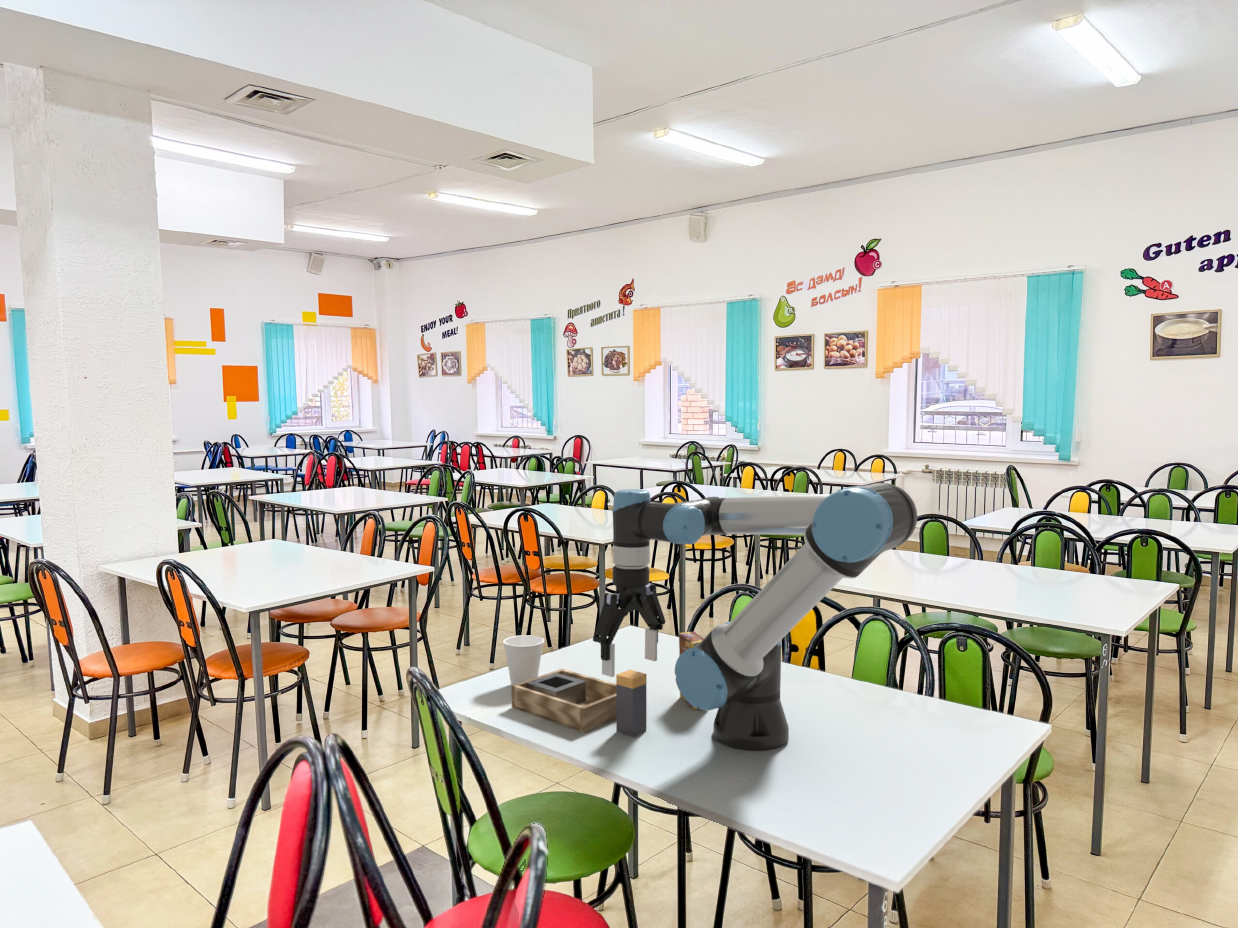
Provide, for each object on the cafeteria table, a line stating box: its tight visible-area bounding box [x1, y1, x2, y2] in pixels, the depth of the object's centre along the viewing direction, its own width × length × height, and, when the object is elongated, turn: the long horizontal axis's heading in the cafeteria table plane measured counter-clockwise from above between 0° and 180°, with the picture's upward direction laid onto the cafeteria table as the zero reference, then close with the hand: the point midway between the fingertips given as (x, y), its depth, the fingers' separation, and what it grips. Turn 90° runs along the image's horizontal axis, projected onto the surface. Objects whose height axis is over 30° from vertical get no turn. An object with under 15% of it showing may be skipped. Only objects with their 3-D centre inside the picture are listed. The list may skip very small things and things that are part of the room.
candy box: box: [678, 631, 705, 711], centre depth 191 cm, size 9×4×15 cm, turn 17°
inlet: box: [527, 673, 586, 704], centre depth 191 cm, size 9×9×4 cm
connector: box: [615, 669, 647, 738], centre depth 175 cm, size 4×4×12 cm
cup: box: [502, 634, 545, 686], centre depth 204 cm, size 10×10×11 cm
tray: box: [511, 668, 616, 733], centre depth 188 cm, size 22×16×5 cm
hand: (630, 667), depth 175 cm, fingers open, 13 cm apart
